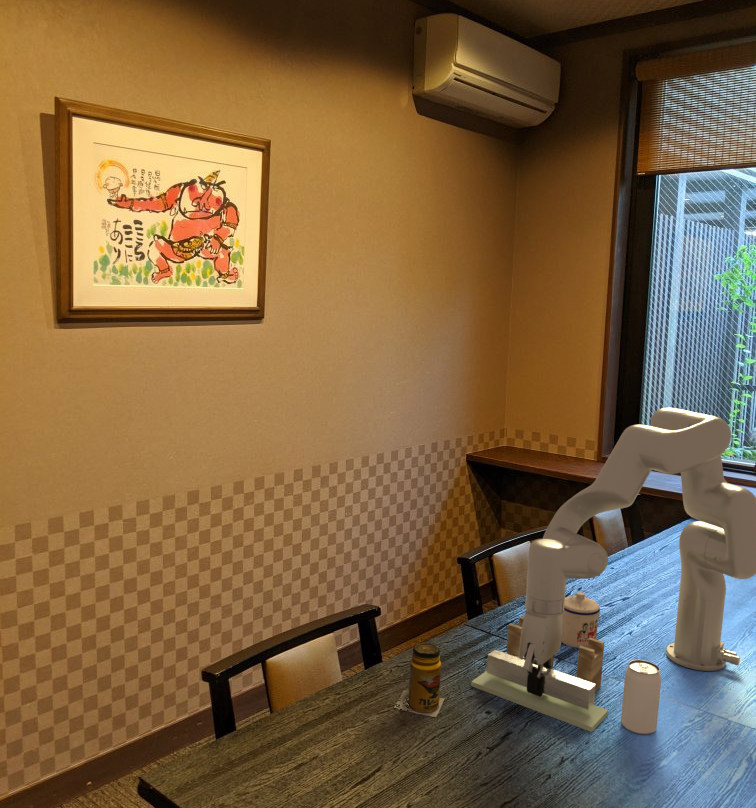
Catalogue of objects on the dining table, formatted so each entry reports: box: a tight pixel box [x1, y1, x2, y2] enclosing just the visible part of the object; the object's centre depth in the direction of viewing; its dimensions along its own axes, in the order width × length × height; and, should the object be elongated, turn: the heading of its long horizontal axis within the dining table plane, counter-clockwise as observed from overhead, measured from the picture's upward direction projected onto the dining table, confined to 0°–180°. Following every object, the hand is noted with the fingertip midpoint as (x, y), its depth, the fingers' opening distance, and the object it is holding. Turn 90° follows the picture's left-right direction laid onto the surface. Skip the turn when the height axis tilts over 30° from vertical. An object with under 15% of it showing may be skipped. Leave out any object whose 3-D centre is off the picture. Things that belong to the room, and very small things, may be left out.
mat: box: [470, 670, 609, 733], centre depth 159 cm, size 26×8×1 cm, turn 53°
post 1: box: [506, 616, 526, 660], centre depth 173 cm, size 3×6×10 cm, turn 143°
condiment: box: [393, 642, 446, 718], centre depth 155 cm, size 7×8×12 cm
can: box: [620, 659, 662, 736], centre depth 150 cm, size 6×6×12 cm
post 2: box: [576, 638, 605, 692], centre depth 163 cm, size 3×6×10 cm, turn 143°
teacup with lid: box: [561, 591, 601, 649], centre depth 187 cm, size 12×9×12 cm
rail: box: [486, 649, 596, 710], centre depth 158 cm, size 22×3×4 cm, turn 53°
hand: (538, 689), depth 159 cm, fingers closed on rail, 3 cm apart
